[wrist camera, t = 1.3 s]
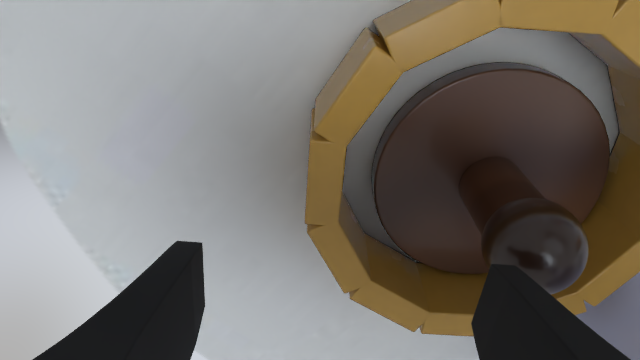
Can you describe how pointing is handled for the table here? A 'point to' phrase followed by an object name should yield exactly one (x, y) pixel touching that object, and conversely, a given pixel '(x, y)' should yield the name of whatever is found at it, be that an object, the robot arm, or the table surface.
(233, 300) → the table surface
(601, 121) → the knob on round base
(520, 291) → the robot arm
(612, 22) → the hoop
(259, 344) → the table surface
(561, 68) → the table surface
